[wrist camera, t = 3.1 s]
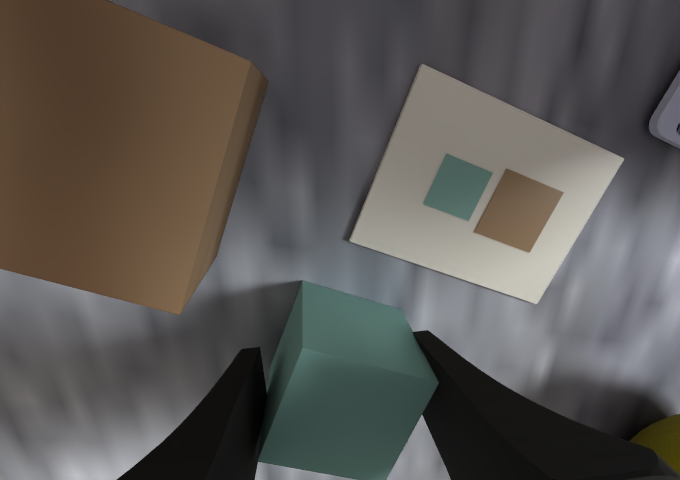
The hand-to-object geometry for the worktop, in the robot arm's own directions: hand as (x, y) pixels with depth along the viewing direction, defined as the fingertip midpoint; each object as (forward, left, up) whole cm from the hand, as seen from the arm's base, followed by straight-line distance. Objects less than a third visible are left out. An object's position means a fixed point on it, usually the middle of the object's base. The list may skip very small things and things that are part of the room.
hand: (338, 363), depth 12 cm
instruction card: (-3, -7, -1) cm, 8 cm away
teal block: (0, 0, -1) cm, 1 cm away
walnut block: (+8, -5, -2) cm, 10 cm away
